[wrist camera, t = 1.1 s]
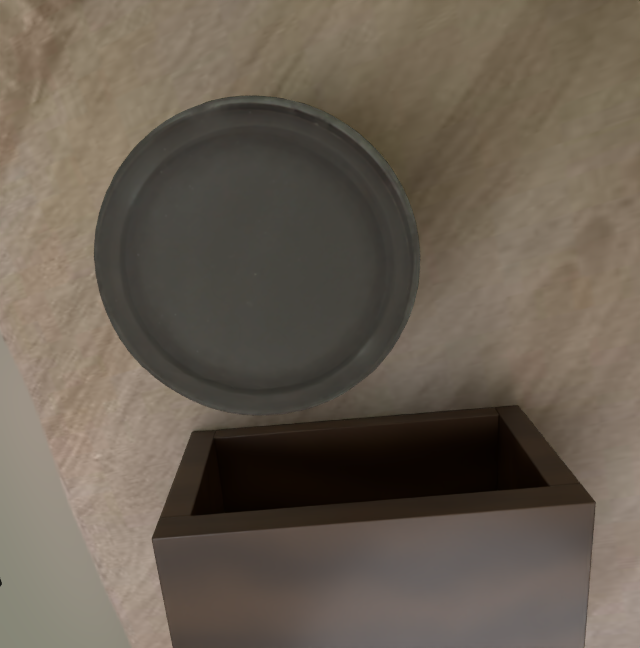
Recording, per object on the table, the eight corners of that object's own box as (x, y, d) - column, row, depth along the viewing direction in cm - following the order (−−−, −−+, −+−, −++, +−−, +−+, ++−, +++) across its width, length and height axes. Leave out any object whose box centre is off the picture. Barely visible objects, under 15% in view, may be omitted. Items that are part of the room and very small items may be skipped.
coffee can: (374, 299, 34) (421, 408, 20) (193, 309, 34) (120, 426, 20) (369, 107, 30) (421, 85, 17) (169, 118, 30) (64, 105, 17)
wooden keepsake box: (191, 431, 36) (136, 578, 24) (518, 405, 36) (625, 538, 24) (220, 615, 40) (186, 817, 28) (513, 591, 40) (601, 782, 28)
